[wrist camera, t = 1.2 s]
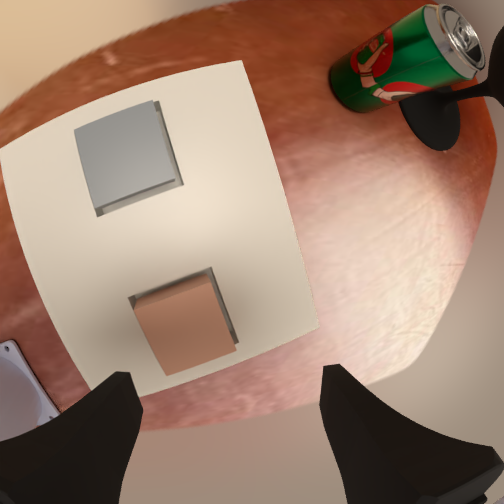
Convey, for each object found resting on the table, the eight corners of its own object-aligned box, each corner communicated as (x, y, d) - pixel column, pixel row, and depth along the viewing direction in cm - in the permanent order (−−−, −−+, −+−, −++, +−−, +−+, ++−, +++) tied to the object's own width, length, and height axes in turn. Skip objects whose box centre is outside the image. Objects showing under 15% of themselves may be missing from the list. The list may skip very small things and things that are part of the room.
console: (108, 384, 19) (102, 407, 16) (18, 156, 15) (-2, 150, 12) (301, 312, 22) (319, 327, 19) (231, 78, 18) (241, 60, 15)
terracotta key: (165, 359, 17) (166, 376, 16) (137, 298, 16) (133, 310, 15) (229, 336, 18) (237, 350, 16) (205, 273, 17) (210, 281, 15)
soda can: (385, 94, 22) (493, 57, 10) (358, 126, 21) (480, 91, 10) (347, 51, 20) (446, -10, 9) (315, 79, 20) (424, 9, 8)
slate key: (103, 208, 15) (94, 208, 13) (83, 137, 14) (73, 129, 12) (174, 181, 16) (175, 178, 14) (154, 111, 15) (152, 99, 13)
